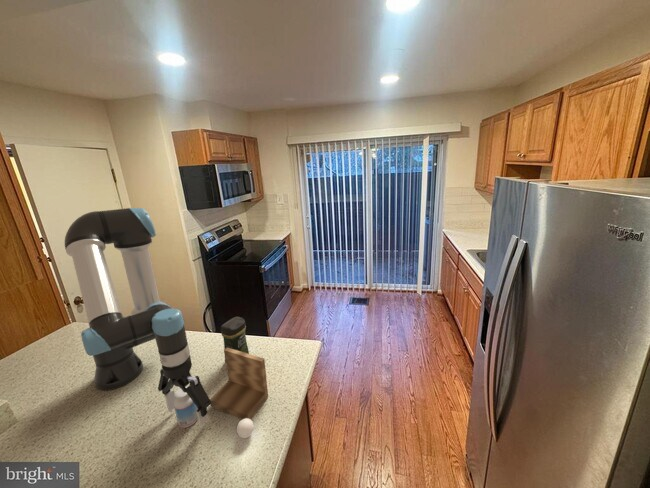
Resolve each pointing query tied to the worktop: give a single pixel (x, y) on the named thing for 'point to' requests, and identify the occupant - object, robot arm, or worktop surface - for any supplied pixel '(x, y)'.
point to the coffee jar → (235, 334)
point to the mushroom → (245, 428)
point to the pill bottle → (184, 409)
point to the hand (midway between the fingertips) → (187, 415)
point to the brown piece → (242, 385)
